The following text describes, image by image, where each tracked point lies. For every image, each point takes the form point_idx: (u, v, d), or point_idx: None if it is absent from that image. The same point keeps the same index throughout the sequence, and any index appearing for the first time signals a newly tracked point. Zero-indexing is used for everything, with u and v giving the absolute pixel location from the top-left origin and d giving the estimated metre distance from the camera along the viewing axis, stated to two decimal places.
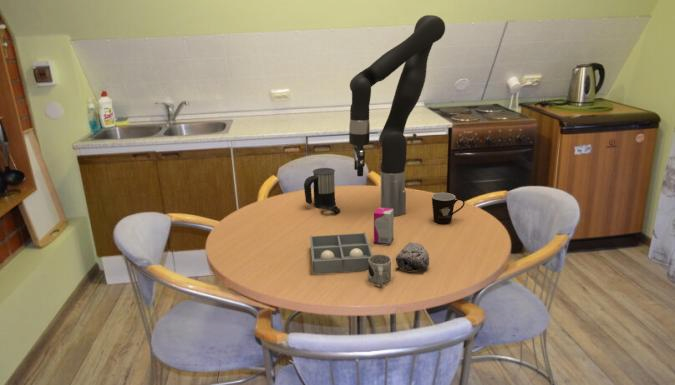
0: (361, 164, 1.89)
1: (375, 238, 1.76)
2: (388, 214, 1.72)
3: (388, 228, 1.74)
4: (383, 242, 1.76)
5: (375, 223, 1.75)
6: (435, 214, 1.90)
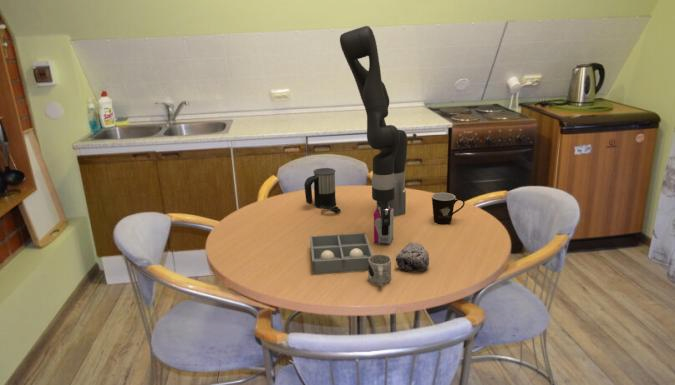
0: (386, 223, 1.70)
1: (375, 238, 1.76)
2: None
3: (388, 228, 1.74)
4: (383, 242, 1.76)
5: (375, 223, 1.75)
6: (435, 214, 1.90)
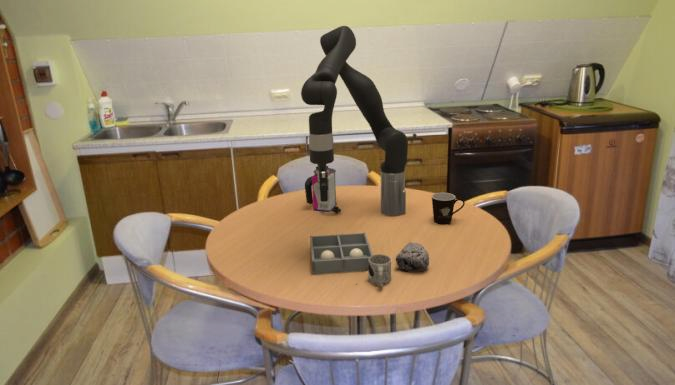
0: (324, 187, 1.57)
1: (314, 205, 1.63)
2: None
3: (327, 193, 1.61)
4: (323, 209, 1.63)
5: (314, 188, 1.62)
6: (435, 214, 1.90)
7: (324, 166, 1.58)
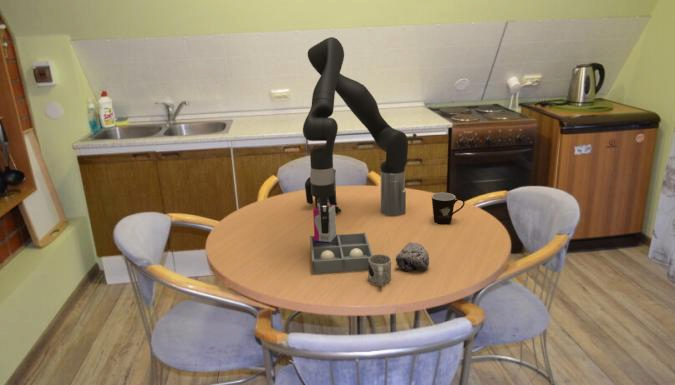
0: (325, 221, 1.61)
1: (315, 236, 1.67)
2: None
3: (328, 226, 1.64)
4: (324, 240, 1.67)
5: (315, 220, 1.65)
6: (435, 214, 1.90)
7: (325, 200, 1.61)
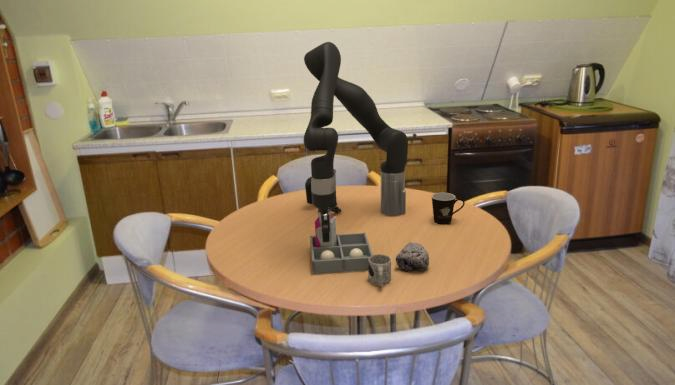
0: (326, 229, 1.61)
1: None
2: None
3: (330, 237, 1.66)
4: None
5: (317, 232, 1.67)
6: (435, 214, 1.90)
7: (326, 209, 1.62)
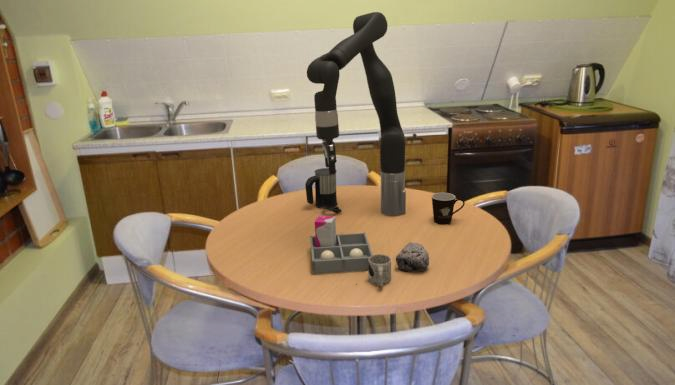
0: (332, 160, 1.67)
1: None
2: (330, 222, 1.65)
3: (330, 237, 1.66)
4: None
5: (316, 232, 1.67)
6: (435, 214, 1.90)
7: (331, 141, 1.68)
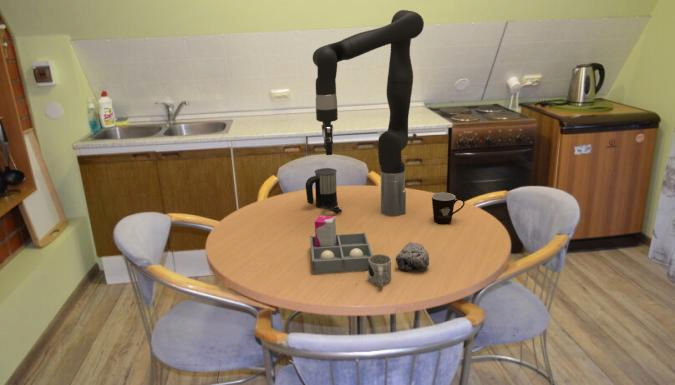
0: (329, 142, 1.77)
1: None
2: (330, 222, 1.65)
3: (330, 237, 1.66)
4: None
5: (317, 232, 1.67)
6: (435, 214, 1.90)
7: (329, 123, 1.78)
